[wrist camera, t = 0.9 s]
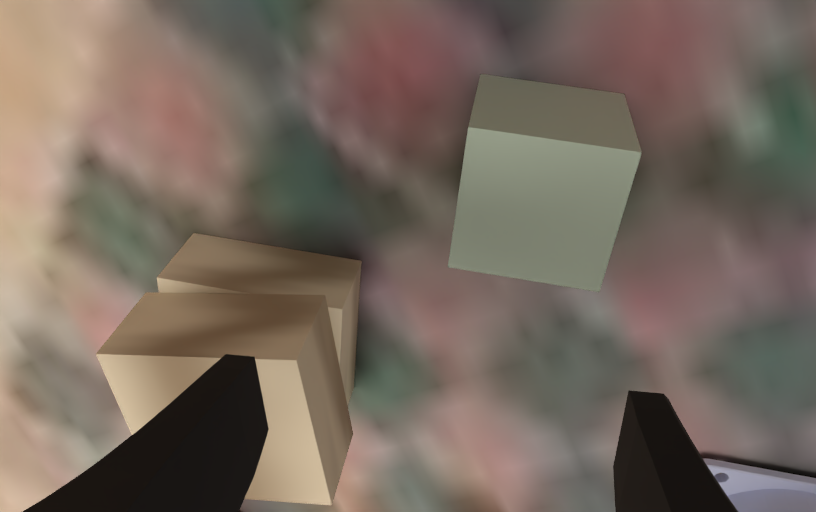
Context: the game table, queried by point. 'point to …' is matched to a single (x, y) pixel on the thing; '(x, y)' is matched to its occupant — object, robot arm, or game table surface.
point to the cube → (543, 182)
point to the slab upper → (277, 370)
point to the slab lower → (272, 282)
